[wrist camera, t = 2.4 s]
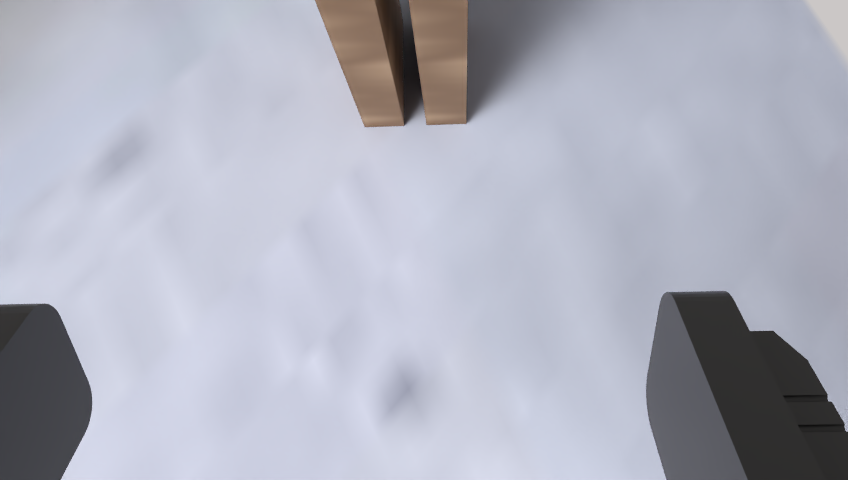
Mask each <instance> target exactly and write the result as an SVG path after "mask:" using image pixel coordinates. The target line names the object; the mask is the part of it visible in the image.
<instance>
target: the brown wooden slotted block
mask: <svg viewBox="0 0 848 480" xmlns="http://www.w3.org/2000/svg"><path fill="white" fill-rule="evenodd" d="M315 2H316V4H317V7H318V9H319V12H320V14H321V17H322V19H323V22H324V24H325V27H326V30H327V32H328V35H329V37H330V40H331V42H332V45H333V47H334V50H335V52H336V55H337V58H338V60H339V63H340V65H341V68H342V70H343V73H344V75H345V78H346V80H347V83H348V85H349V88H350V91H351V93H352V96H353V98H354V101H355V103H356V106H357V108H358V111H359V113H360V116H361V119H362V121H363V124H364V126H365V127H382V126H404V75H403V19H402V13H401V7H400V2H399V0H315ZM409 6H410V13H411V20H412V27H413V34H414V41H415V48H416V55H417V62H418V68H419V75H420V82H421V89H422V96H423V103H424V110H425V117H426V124H427V125H440V124H466V105H467V25H468V0H409Z"/></svg>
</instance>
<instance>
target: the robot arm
mask: <svg viewBox="0 0 848 480" xmlns="http://www.w3.org/2000/svg"><path fill="white" fill-rule="evenodd" d="M646 398H647V409H648V416H649V421H650V425H651V429H652V432H653V436H654V439H655V443H656V446H657V449H658V453H659V456H660V459H661V463H662V466H663V469H664V473H665V476H666V479H667V480H848V432H846V431H845V428H844V425H845V424H844V422H843V420H842V419H841V417H840V415H839V414H838V412H837V410H836V408H835V407H834V405H833V403H832V402H828V399H827V393H826V391H825V390H824V388H823V386H822V384H821V383H820V381H819V379H818V378H817V376H816V374H815V372H814V371H813V369H812V367H811V366H810V364H809V362H808V360H807V359H805V358H804V357H803V356H802V355H801V354H800V353H798V352H797V351H796V350H795V349H794V348H793V347H791V346H790V345H789V344H788V343H787V342H785V341H784V340H783V339H782V338H781V337H780V336H778V335H777V334H776V333H775V332H774V331H749V329H748V327H747V325H746V323H745V321H744V319H743V317H742V315H741V313H740V311H739V309H738V307H737V305H736V304H735V302H734V300H733V298H732V296H731V295H730V294H729V293H728V292H726V291H706V292H666V293H665V294H664V295H663V296H662V298H661V302H660V306H659V311H658V317H657V323H656V329H655V334H654V340H653V346H652V352H651V357H650V363H649V369H648V375H647V384H646ZM91 411H92V394H91V388H90V385H89V382H88V380H87V377H86V375H85V373H84V370H83V368H82V366H81V363H80V361H79V359H78V356H77V354H76V352H75V349H74V347H73V345H72V343H71V340H70V338H69V336H68V333H67V331H66V329H65V326H64V324H63V322H62V319H61V317H60V315H59V313H58V312H57V310H56V309H55V308H54V307H52V306H51V305H49V304H8V305H0V480H61V478H62V476H63V474H64V472H65V470H66V468H67V466H68V465H69V463H70V461H71V459H72V457H73V455H74V453H75V451H76V449H77V447H78V445H79V444H80V442H81V440H82V438H83V436H84V434H85V432H86V430H87V427H88V424H89V421H90V417H91Z"/></svg>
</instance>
